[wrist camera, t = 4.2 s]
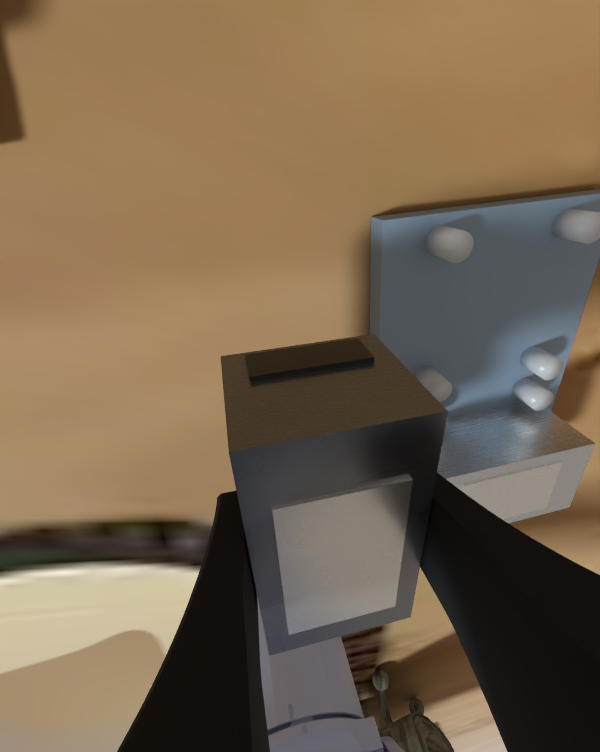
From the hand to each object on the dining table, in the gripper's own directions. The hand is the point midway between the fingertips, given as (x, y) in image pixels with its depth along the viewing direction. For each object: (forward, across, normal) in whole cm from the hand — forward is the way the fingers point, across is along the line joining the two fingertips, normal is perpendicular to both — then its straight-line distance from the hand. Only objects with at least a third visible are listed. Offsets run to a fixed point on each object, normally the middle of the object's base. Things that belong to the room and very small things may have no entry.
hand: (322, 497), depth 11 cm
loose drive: (+2, 0, 0) cm, 2 cm away
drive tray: (+8, -10, +2) cm, 13 cm away
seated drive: (+7, -10, +6) cm, 14 cm away
